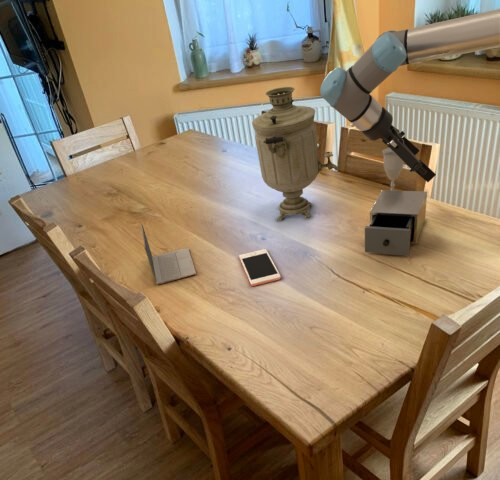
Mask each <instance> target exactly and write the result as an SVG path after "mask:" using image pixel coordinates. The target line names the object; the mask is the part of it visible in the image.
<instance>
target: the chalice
mask: <svg viewBox="0 0 500 480" xmlns="http://www.w3.org/2000/svg"><path fill="white" fill-rule="evenodd" d="M381 153H382V155H383V170H384V172H385V173H384V174H386V177H387V178H388V180H390V181H391V182H390V184H389V187H390V190H394V191H396V189H395V187H396V184H395V180H398V178H399V176H400V174H401V173H402V170H403V168H404V161H403V160H402V159H401V158H400V157H399V156H398V155H397V154H396V153H395V152H394V151H392V150H391V148H389V147H387V148H385V149H383V150H381Z"/></svg>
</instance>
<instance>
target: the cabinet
mask: <svg viewBox="0 0 500 480" xmlns="http://www.w3.org/2000/svg"><path fill="white" fill-rule="evenodd" d="M427 199H428V191H423V190H422V191H421V190H395V191H394V190H391V189H390V190H388V189H382V190H381V191H380V193H379V195H378V197H377V198H376V200H375V202H374V203H373V205H372V207H371V209H370V211H369V224H370V223H371V221H372V219H373V217H374V215H388V216H407V217H415V222H414V236H413V238H412V241H411V243H410V245H414V246H415V245H417V244H418V240H419V238H420V235H421V233H422V229H423V227H424V224H425V222H426V212H427V201H428V200H427Z"/></svg>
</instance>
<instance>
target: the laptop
mask: <svg viewBox="0 0 500 480" xmlns="http://www.w3.org/2000/svg"><path fill="white" fill-rule="evenodd" d="M140 226H141V233H142V240H143V246H144V247H143V248H144V251H145V254H146V257H147V260H148V264H149V265H150V266H149V267H150V270H151V272H152V276H153V279H154V282H155V284H156V285H161V284H165V283H169V282H172V281H176V280H179V279H184V278H186V277H190V276H194V275H196V274H197V273H196V272H197V271H196V269H195V266H194V262H193V259H192V256H191V253H190V252H191V251H190V249H189V247H184V248H181V249H180V248H179V249H176V250H172V251H168V252H164V253H160V254H157V255H152V251H151V247H150V245H149V242H148V238H147V234H146V232H145V229H144V225H143V223H142V222H140Z"/></svg>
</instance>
